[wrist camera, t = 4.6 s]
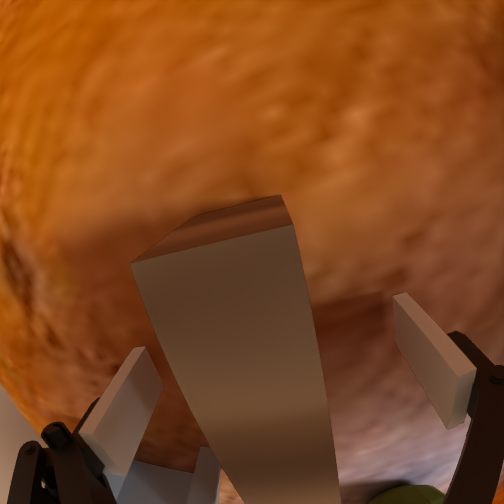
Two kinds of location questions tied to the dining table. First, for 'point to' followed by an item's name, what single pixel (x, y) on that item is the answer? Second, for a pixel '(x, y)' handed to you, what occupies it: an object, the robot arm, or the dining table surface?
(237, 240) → the rail
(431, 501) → the apple
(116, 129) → the dining table surface
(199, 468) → the grey two-prong block
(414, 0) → the dining table surface
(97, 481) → the robot arm
